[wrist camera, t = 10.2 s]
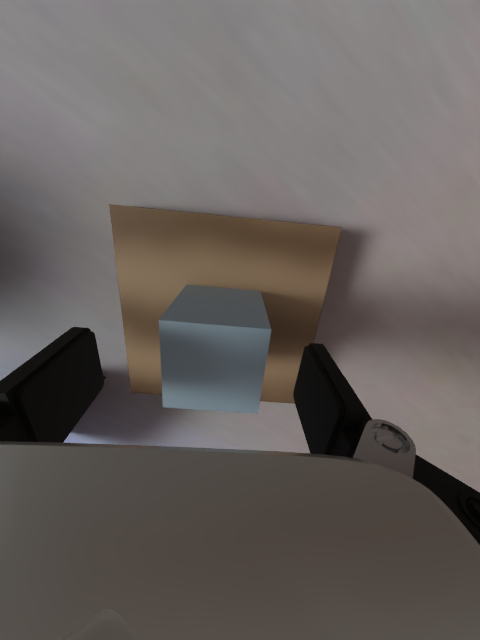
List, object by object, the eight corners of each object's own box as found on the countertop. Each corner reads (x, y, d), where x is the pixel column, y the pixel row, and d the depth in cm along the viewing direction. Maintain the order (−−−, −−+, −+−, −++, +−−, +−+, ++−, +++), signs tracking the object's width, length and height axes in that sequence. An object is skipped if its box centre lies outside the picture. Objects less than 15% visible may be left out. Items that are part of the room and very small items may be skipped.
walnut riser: (130, 206, 17) (109, 204, 14) (325, 225, 17) (341, 227, 15) (144, 370, 22) (131, 392, 19) (291, 381, 23) (298, 403, 20)
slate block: (186, 284, 16) (158, 320, 10) (260, 290, 16) (271, 329, 11) (186, 348, 18) (162, 407, 12) (251, 353, 18) (257, 413, 13)
